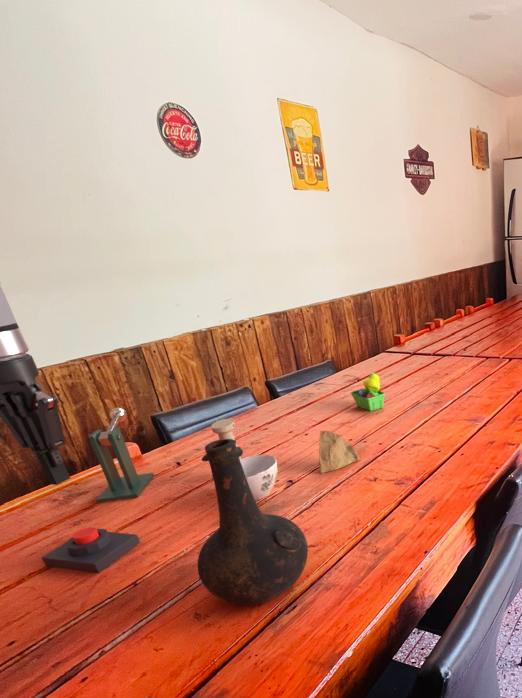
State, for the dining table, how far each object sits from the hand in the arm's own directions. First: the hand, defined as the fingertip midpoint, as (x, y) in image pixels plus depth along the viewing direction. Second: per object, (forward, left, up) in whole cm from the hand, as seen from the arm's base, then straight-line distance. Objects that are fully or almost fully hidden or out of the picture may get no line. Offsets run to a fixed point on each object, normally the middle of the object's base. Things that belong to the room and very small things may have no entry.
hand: (60, 481), depth 96 cm
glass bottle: (+41, -3, -17) cm, 44 cm away
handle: (+8, +35, -17) cm, 40 cm away
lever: (-20, +30, -3) cm, 36 cm away
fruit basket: (+21, +90, -17) cm, 94 cm away
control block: (0, 0, -17) cm, 17 cm away
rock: (+32, +45, -17) cm, 58 cm away
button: (0, 0, -13) cm, 13 cm away
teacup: (+19, +26, -17) cm, 36 cm away
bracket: (-17, +25, -17) cm, 35 cm away
